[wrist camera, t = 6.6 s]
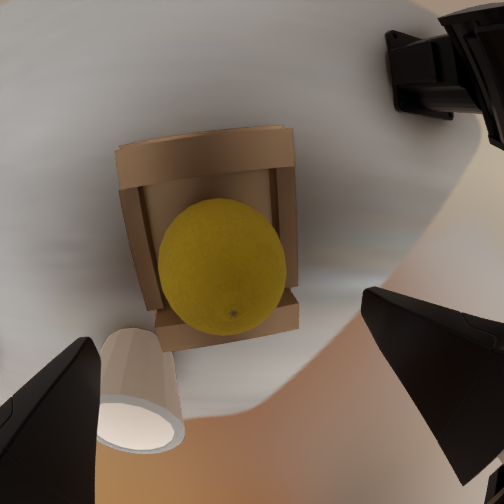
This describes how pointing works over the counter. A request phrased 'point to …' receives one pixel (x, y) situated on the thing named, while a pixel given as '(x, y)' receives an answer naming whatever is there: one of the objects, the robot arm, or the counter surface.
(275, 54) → the counter surface
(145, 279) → the cradle
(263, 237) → the lemon
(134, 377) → the shot glass
